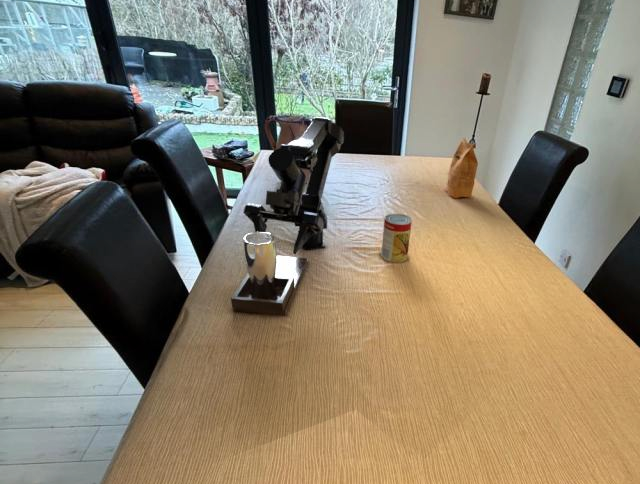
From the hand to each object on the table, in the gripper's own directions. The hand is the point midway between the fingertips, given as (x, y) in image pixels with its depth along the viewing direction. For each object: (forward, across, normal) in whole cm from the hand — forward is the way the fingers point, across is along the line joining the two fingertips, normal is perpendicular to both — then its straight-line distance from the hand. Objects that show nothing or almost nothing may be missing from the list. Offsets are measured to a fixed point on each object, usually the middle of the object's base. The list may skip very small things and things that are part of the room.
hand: (276, 250), depth 100 cm
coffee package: (-59, +42, +74) cm, 104 cm away
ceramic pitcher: (-50, -28, +65) cm, 86 cm away
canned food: (-12, +26, +26) cm, 38 cm away
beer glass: (+12, 0, +1) cm, 12 cm away
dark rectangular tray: (+7, -1, +7) cm, 10 cm away
